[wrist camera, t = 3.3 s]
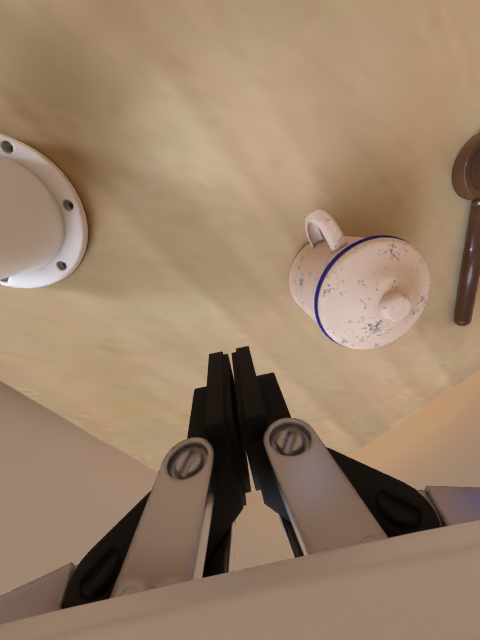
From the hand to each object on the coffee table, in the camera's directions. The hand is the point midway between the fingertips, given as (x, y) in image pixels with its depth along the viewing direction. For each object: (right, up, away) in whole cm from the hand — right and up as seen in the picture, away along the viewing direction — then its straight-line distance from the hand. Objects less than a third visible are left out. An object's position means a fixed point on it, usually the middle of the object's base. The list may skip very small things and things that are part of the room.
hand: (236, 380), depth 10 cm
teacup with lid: (+9, +9, +16) cm, 20 cm away
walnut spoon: (+26, +12, +16) cm, 33 cm away
